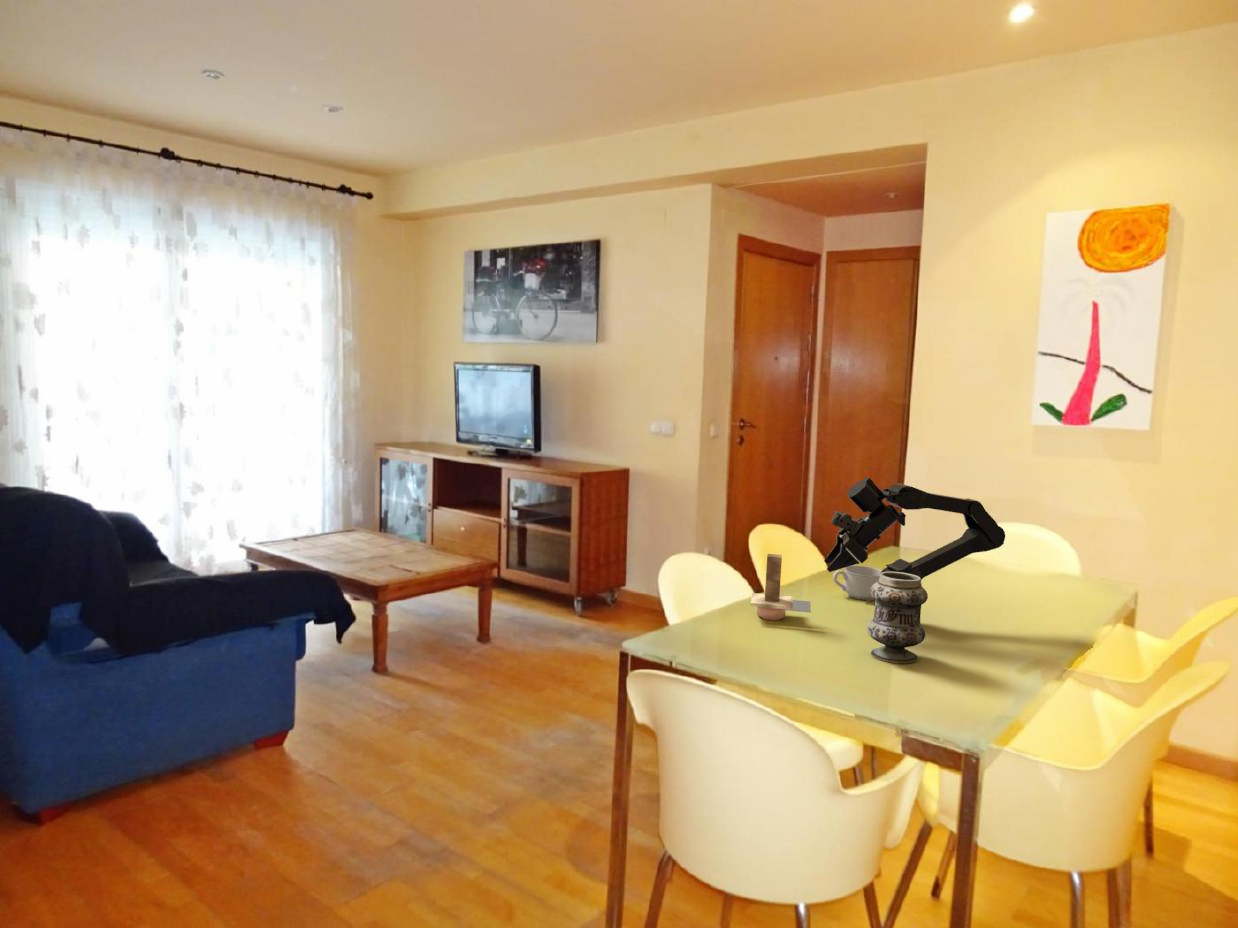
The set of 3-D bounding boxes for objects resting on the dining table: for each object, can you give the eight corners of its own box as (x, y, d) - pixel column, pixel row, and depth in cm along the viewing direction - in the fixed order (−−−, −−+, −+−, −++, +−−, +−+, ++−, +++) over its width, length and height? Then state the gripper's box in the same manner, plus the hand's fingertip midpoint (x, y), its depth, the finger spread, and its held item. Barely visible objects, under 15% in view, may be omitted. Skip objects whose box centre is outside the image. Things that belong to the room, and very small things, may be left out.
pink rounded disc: (789, 622, 213) (790, 606, 213) (762, 622, 212) (763, 606, 211) (779, 614, 220) (779, 598, 220) (752, 614, 219) (753, 599, 218)
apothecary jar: (928, 654, 192) (934, 574, 190) (916, 669, 182) (923, 585, 180) (873, 644, 198) (878, 566, 196) (858, 658, 188) (864, 576, 186)
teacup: (878, 594, 245) (880, 566, 244) (886, 604, 234) (888, 575, 234) (828, 591, 246) (830, 563, 246) (833, 601, 236) (835, 571, 235)
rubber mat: (809, 602, 233) (809, 601, 233) (810, 613, 222) (810, 612, 222) (767, 599, 235) (767, 597, 235) (766, 609, 224) (766, 608, 224)
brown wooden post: (792, 599, 219) (795, 553, 218) (792, 609, 210) (795, 561, 208) (752, 596, 221) (754, 550, 220) (750, 605, 212) (753, 558, 210)
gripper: (847, 495, 223) (802, 535, 226) (855, 506, 205) (805, 550, 208) (878, 526, 223) (832, 567, 226) (888, 540, 205) (838, 584, 207)
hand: (826, 566), depth 217 cm, fingers open, 9 cm apart
